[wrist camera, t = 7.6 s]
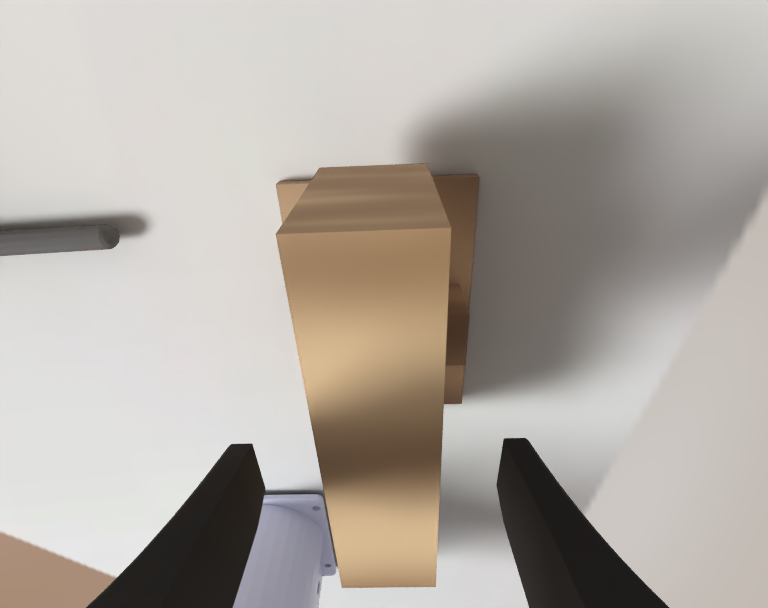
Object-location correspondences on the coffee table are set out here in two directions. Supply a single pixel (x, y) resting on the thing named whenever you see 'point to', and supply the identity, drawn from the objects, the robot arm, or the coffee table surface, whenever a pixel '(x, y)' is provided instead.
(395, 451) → the oak bar
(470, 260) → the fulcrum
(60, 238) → the walkie-talkie
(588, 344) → the coffee table surface
